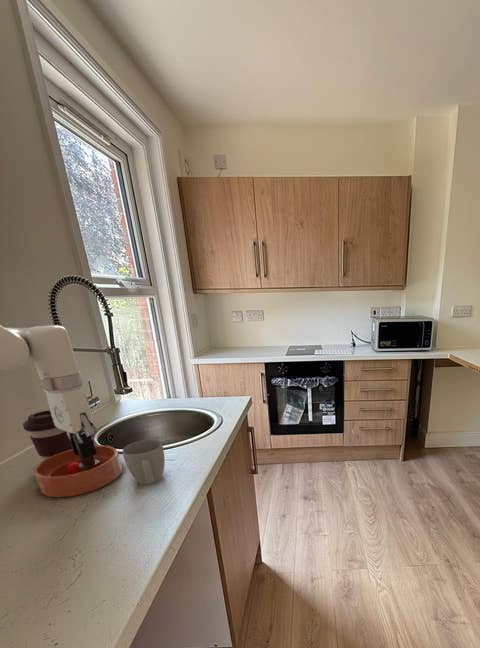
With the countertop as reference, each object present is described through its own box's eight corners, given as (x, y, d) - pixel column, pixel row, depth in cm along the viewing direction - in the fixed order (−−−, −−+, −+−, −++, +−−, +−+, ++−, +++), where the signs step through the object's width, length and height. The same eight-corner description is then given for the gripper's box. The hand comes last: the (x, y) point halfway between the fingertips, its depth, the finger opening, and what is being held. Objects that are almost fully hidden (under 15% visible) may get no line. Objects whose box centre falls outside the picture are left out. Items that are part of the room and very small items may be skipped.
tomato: (73, 480, 88) (69, 467, 87) (66, 476, 90) (61, 464, 88) (88, 473, 91) (84, 461, 90) (81, 470, 93) (77, 458, 91)
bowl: (64, 507, 78) (55, 484, 76) (29, 488, 87) (20, 466, 84) (136, 473, 92) (131, 453, 90) (100, 459, 100) (94, 440, 98)
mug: (130, 477, 90) (121, 444, 86) (167, 469, 94) (159, 436, 90) (133, 500, 80) (122, 463, 77) (173, 489, 84) (165, 454, 81)
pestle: (87, 479, 86) (74, 438, 81) (78, 475, 88) (64, 435, 84) (105, 471, 89) (93, 432, 85) (96, 467, 91) (84, 429, 87)
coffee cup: (49, 475, 92) (29, 423, 86) (33, 466, 97) (14, 416, 91) (89, 460, 100) (73, 411, 94) (72, 453, 105) (56, 405, 99)
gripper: (27, 382, 80) (53, 453, 87) (62, 390, 72) (87, 468, 79) (63, 375, 86) (84, 442, 93) (98, 382, 78) (119, 455, 85)
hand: (85, 453), depth 86 cm, fingers closed on pestle, 2 cm apart
